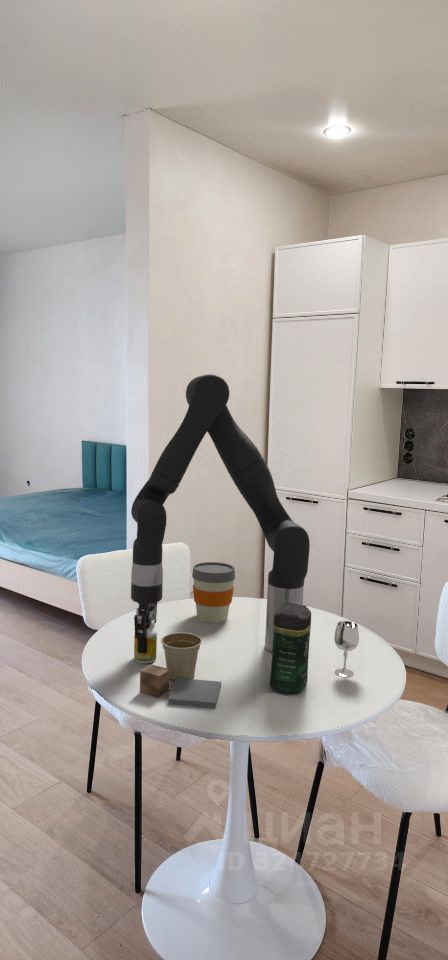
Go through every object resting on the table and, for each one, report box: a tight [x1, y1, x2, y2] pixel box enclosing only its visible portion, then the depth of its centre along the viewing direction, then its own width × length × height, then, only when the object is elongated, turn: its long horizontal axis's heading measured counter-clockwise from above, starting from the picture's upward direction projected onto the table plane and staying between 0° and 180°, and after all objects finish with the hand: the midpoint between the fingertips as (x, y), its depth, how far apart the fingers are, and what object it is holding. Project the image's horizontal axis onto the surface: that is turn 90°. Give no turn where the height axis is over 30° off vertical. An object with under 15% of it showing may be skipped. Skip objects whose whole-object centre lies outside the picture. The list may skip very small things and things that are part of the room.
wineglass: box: [333, 620, 360, 678], centre depth 150 cm, size 6×6×12 cm
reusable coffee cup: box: [191, 561, 236, 624], centre depth 185 cm, size 13×13×15 cm
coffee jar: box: [269, 603, 312, 696], centre depth 141 cm, size 10×8×19 cm
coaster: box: [167, 678, 222, 709], centre depth 137 cm, size 10×10×1 cm
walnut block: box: [139, 663, 171, 699], centre depth 138 cm, size 5×4×5 cm
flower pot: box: [160, 632, 203, 682], centre depth 146 cm, size 9×9×9 cm
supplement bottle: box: [133, 620, 158, 664], centre depth 154 cm, size 5×5×10 cm
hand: (145, 647), depth 154 cm, fingers closed on supplement bottle, 5 cm apart
